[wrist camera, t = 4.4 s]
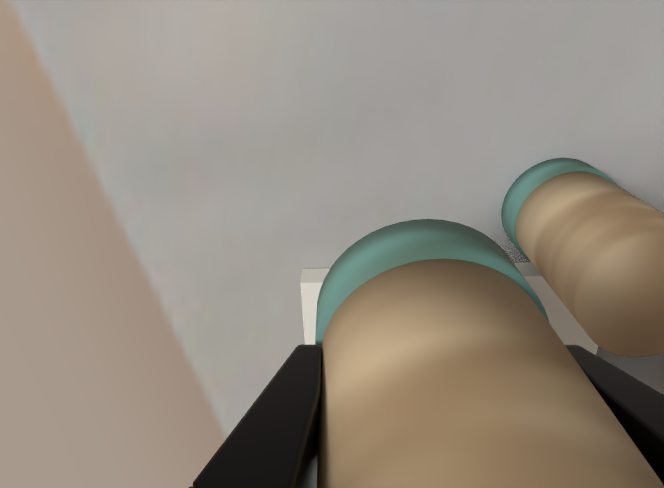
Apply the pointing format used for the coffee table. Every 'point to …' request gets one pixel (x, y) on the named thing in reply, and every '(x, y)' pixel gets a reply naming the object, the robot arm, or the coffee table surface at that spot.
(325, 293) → the tan teal rounded cylinder
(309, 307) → the socket board
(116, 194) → the coffee table surface
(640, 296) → the tan domed cylinder
